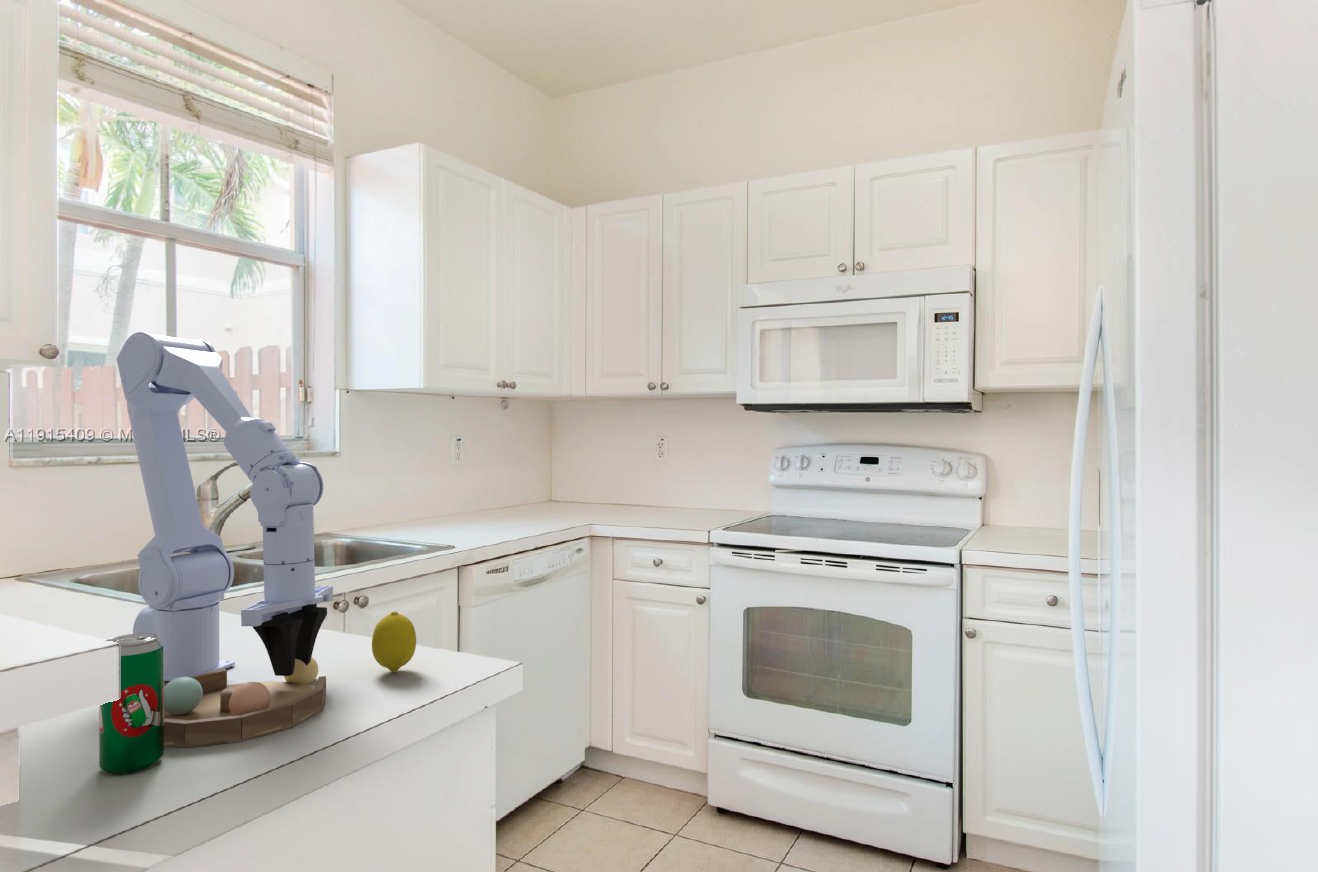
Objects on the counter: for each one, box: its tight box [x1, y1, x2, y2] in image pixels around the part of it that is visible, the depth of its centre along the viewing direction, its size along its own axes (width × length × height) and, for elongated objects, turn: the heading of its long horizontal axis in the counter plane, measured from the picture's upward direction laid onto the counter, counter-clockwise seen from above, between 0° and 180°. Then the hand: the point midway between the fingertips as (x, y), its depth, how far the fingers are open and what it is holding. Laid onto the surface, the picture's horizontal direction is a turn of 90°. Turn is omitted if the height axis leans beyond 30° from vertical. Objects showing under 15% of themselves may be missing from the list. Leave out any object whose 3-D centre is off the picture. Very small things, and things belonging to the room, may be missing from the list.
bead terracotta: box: [229, 681, 271, 716], centre depth 84 cm, size 4×4×4 cm
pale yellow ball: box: [283, 656, 319, 685], centre depth 98 cm, size 4×4×4 cm
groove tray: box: [164, 668, 327, 749], centre depth 87 cm, size 19×19×2 cm
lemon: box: [371, 611, 417, 673], centre depth 102 cm, size 6×6×8 cm
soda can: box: [98, 633, 165, 776], centre depth 73 cm, size 5×5×12 cm
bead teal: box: [164, 677, 203, 715], centre depth 85 cm, size 4×4×4 cm
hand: (292, 671), depth 96 cm, fingers closed
